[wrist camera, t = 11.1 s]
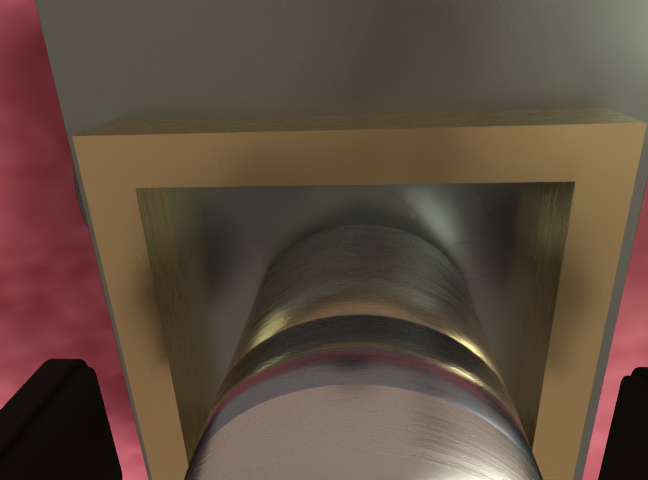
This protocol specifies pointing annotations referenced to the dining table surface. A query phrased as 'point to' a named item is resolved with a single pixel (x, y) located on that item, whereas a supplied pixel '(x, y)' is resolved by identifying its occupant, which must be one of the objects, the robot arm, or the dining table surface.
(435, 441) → the silver lidded pot
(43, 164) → the dining table surface
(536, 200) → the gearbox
